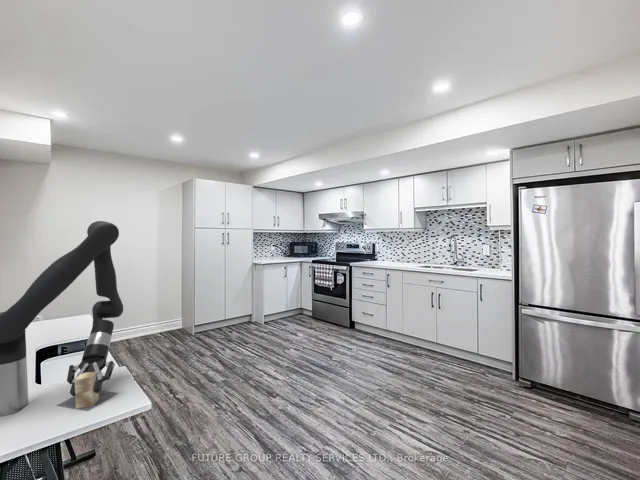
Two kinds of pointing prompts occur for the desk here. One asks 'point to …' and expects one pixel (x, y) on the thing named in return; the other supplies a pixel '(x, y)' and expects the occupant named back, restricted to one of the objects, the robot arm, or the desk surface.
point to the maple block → (86, 390)
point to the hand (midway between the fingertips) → (84, 393)
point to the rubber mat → (72, 404)
